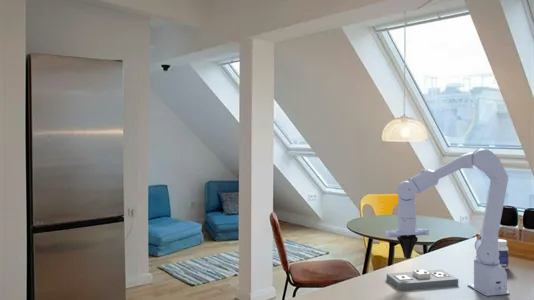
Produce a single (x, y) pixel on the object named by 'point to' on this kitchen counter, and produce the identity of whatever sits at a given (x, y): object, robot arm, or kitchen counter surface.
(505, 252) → the pill bottle
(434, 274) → the tile three
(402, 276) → the tile one
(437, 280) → the button board
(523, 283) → the kitchen counter surface
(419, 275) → the tile two
